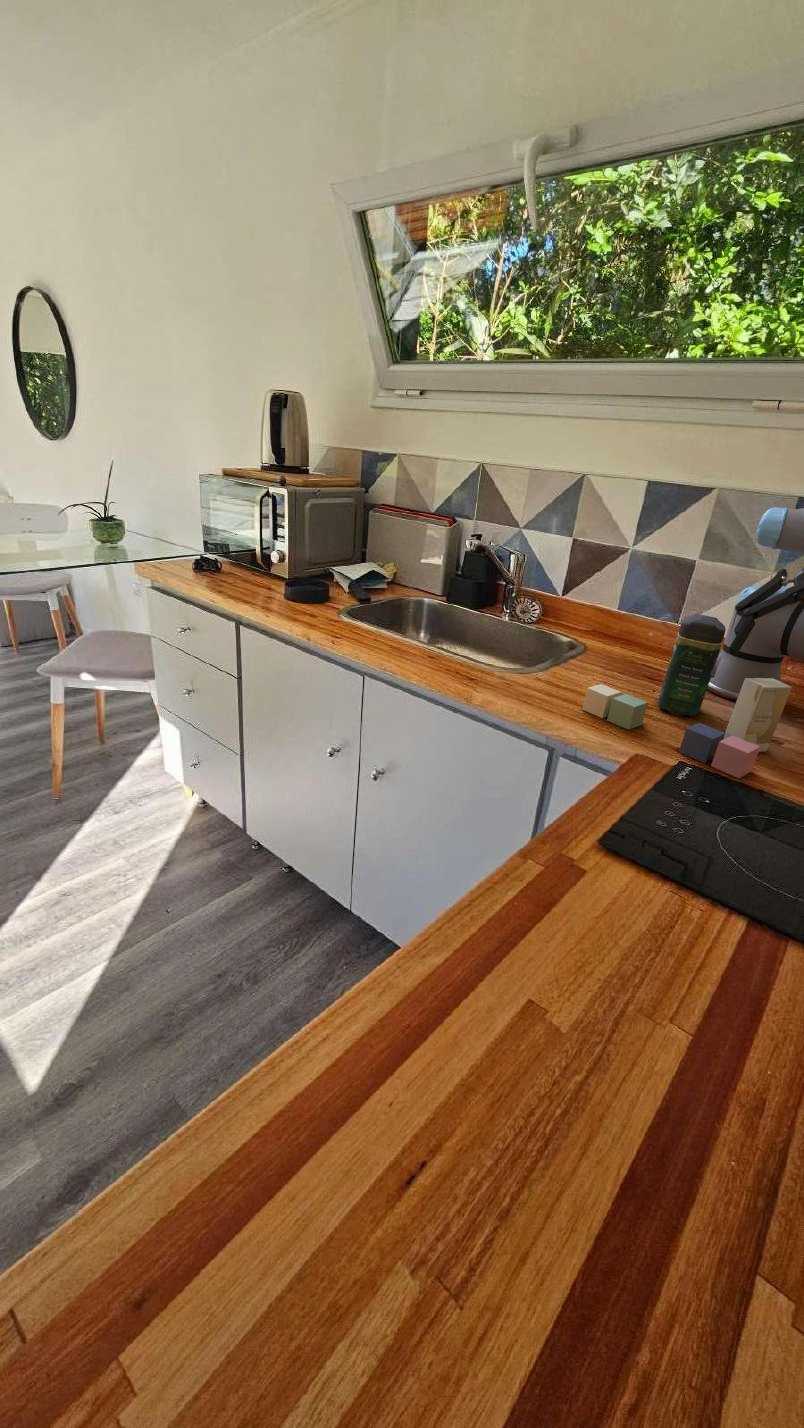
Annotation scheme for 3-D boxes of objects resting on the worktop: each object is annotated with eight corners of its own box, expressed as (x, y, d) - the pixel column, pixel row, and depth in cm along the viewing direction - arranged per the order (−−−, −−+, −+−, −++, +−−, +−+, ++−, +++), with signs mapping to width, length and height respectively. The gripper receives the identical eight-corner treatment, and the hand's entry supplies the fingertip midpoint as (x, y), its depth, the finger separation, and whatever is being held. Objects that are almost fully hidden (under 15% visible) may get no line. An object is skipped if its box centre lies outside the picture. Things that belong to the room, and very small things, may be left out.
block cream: (595, 705, 116) (600, 683, 114) (615, 713, 113) (621, 691, 111) (582, 709, 113) (587, 687, 111) (602, 718, 110) (607, 696, 108)
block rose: (723, 759, 99) (731, 735, 97) (751, 771, 96) (760, 746, 94) (710, 766, 96) (719, 741, 94) (739, 778, 93) (748, 753, 91)
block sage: (620, 715, 112) (626, 693, 110) (641, 724, 109) (648, 702, 107) (606, 720, 109) (612, 698, 108) (628, 730, 106) (634, 707, 104)
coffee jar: (698, 721, 113) (728, 627, 105) (654, 710, 116) (681, 618, 108) (700, 705, 121) (729, 616, 113) (659, 695, 124) (685, 608, 116)
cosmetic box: (739, 753, 101) (763, 687, 96) (720, 742, 105) (742, 677, 100) (768, 751, 103) (794, 686, 98) (749, 740, 107) (773, 676, 102)
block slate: (691, 746, 102) (699, 722, 101) (717, 757, 99) (725, 732, 98) (678, 752, 100) (686, 728, 98) (704, 763, 97) (713, 738, 95)
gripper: (758, 530, 104) (696, 632, 104) (935, 557, 87) (861, 679, 87) (764, 554, 110) (705, 651, 109) (931, 584, 93) (861, 699, 92)
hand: (774, 664), depth 98 cm, fingers open, 13 cm apart
